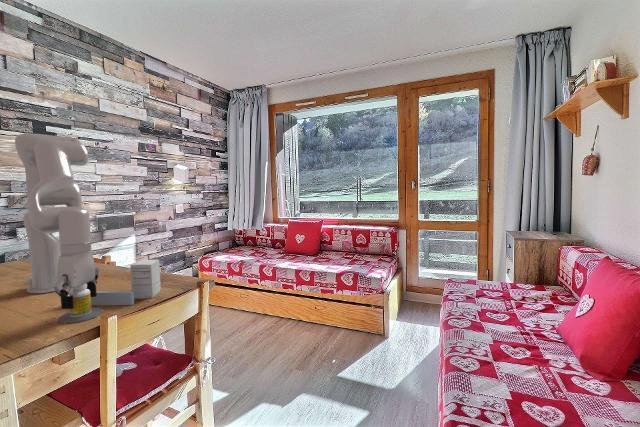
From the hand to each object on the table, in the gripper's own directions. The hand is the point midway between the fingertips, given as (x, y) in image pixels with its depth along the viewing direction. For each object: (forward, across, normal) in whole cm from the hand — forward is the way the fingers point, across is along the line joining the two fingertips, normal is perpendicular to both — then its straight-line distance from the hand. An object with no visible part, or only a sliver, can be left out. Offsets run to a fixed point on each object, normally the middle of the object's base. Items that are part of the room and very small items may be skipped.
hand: (80, 302), depth 96 cm
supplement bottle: (+4, 0, 0) cm, 4 cm away
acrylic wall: (+4, -9, 0) cm, 10 cm away
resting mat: (+4, 0, 0) cm, 4 cm away
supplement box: (+5, -18, +11) cm, 22 cm away
